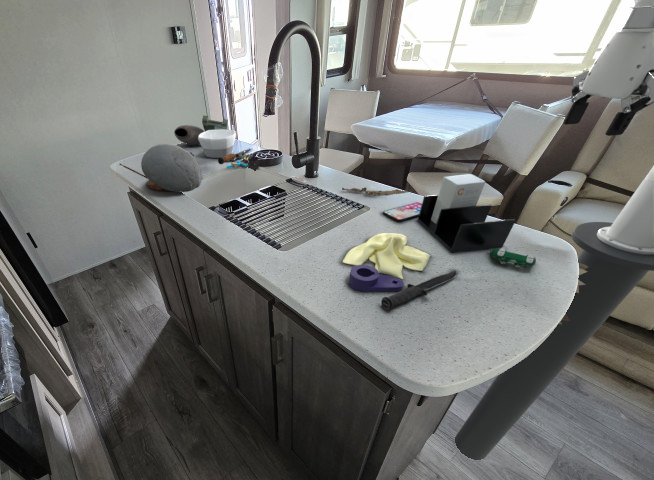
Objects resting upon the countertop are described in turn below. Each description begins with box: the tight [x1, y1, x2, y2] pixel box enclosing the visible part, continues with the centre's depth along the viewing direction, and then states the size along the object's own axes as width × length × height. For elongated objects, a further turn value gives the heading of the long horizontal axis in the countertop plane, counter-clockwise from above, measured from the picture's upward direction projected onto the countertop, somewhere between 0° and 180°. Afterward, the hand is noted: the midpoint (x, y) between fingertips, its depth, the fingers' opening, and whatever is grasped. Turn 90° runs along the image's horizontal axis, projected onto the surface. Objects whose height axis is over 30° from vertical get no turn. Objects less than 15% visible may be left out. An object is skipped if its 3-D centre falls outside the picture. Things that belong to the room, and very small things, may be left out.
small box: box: [431, 173, 486, 224], centre depth 90 cm, size 8×6×13 cm
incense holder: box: [119, 163, 170, 192], centre depth 129 cm, size 21×30×11 cm
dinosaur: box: [229, 147, 255, 163], centre depth 152 cm, size 4×20×7 cm
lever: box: [348, 264, 405, 293], centre depth 74 cm, size 12×6×3 cm, turn 77°
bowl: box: [198, 129, 237, 159], centre depth 157 cm, size 18×18×9 cm
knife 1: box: [217, 149, 250, 165], centre depth 155 cm, size 25×3×5 cm
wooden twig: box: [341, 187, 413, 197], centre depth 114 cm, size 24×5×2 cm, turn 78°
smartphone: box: [382, 202, 422, 222], centre depth 102 cm, size 8×1×15 cm
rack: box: [416, 194, 517, 254], centre depth 89 cm, size 14×18×8 cm
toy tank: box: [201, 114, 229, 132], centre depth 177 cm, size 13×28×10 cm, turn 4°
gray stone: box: [140, 143, 203, 193], centre depth 123 cm, size 23×22×10 cm
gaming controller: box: [490, 246, 537, 269], centre depth 78 cm, size 9×4×6 cm
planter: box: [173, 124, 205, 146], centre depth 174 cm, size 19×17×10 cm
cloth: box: [342, 232, 431, 280], centre depth 82 cm, size 22×19×6 cm
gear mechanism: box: [226, 150, 249, 169], centre depth 144 cm, size 20×5×9 cm
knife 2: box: [380, 270, 458, 311], centre depth 72 cm, size 24×5×3 cm, turn 114°
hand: (590, 129), depth 67 cm, fingers open, 9 cm apart
